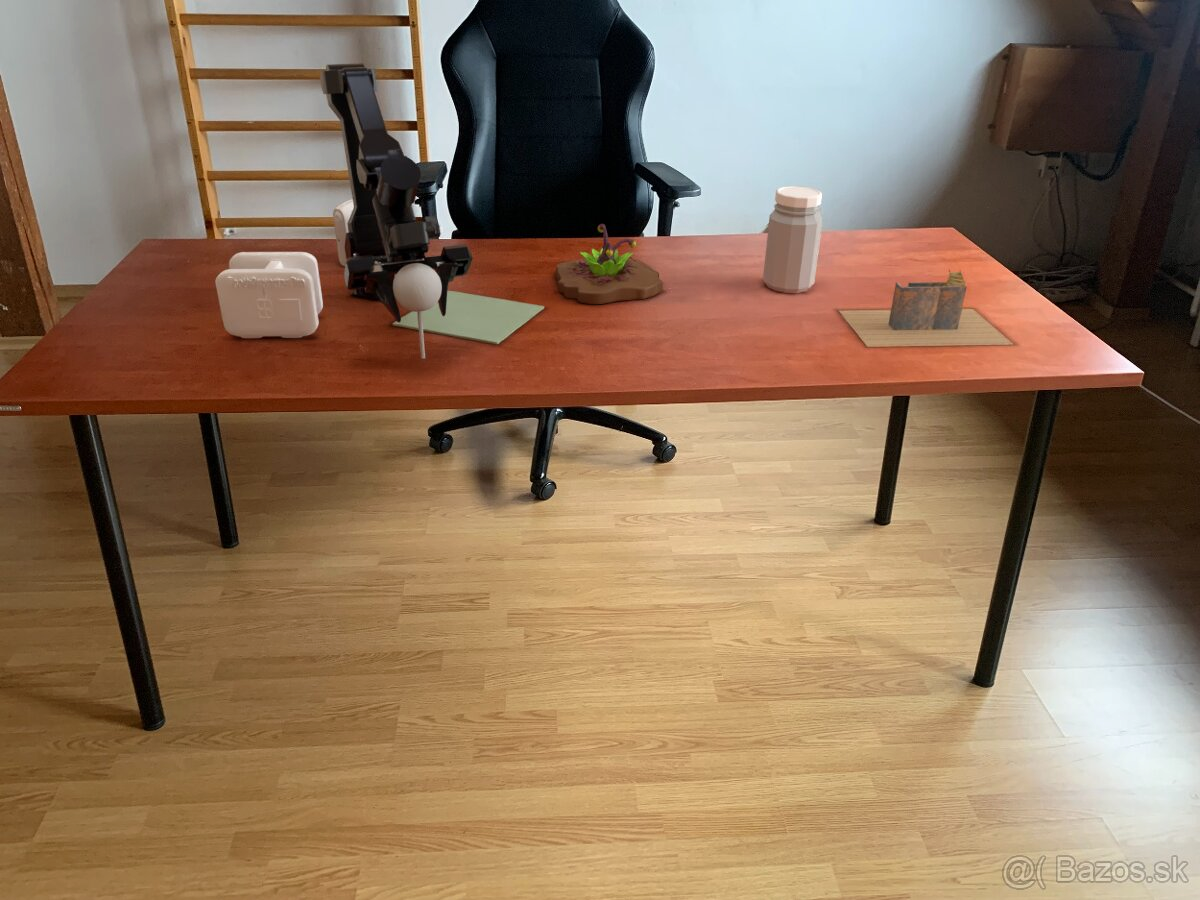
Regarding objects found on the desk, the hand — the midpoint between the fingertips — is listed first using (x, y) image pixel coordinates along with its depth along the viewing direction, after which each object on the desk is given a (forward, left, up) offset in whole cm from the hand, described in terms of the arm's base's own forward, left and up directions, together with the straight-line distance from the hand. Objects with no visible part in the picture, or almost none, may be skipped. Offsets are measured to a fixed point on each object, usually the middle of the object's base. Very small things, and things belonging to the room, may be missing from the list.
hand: (421, 318), depth 140 cm
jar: (+43, +61, -9) cm, 75 cm away
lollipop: (-1, +1, -7) cm, 7 cm away
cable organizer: (-31, +4, -9) cm, 32 cm away
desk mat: (-4, +22, -8) cm, 24 cm away
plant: (+11, +47, -9) cm, 49 cm away
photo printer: (-39, +40, -9) cm, 56 cm away
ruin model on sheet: (+69, +50, -9) cm, 86 cm away
